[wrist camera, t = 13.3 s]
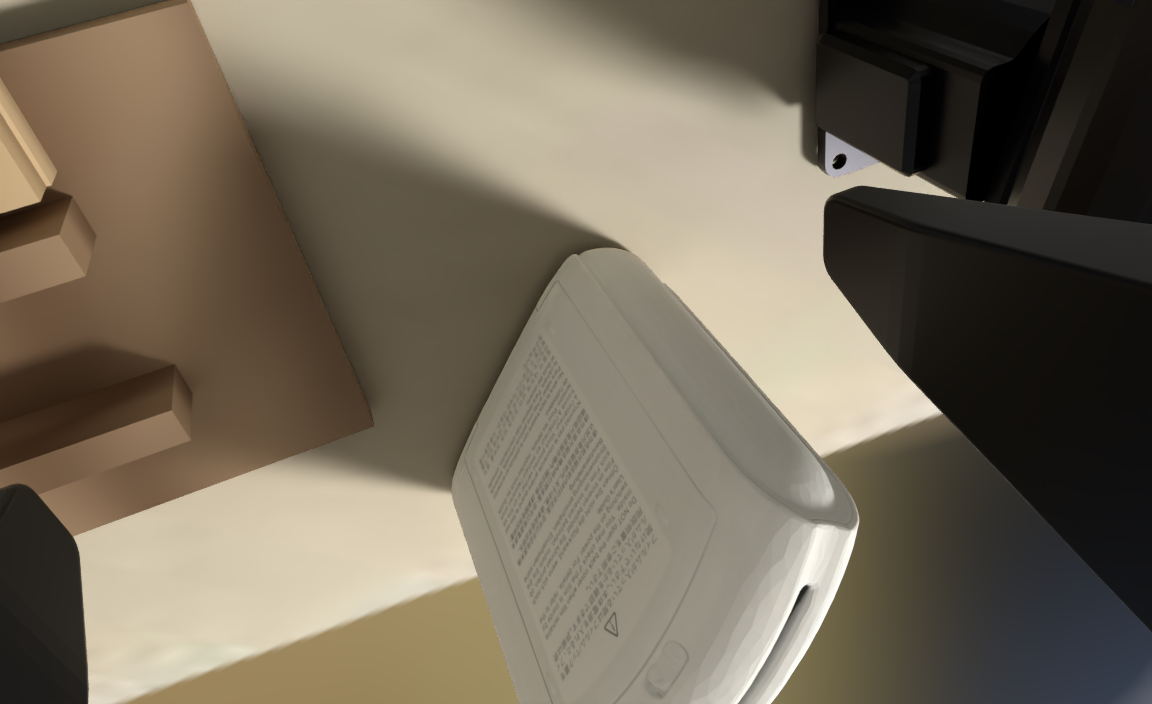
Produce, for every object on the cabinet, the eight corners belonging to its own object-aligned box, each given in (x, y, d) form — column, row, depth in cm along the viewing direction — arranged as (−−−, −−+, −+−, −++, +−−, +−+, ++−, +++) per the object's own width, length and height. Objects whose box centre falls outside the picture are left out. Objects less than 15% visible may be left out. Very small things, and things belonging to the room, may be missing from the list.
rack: (187, -6, 17) (182, 37, 14) (370, 409, 25) (391, 493, 22) (-399, 148, 15) (-544, 233, 13) (-14, 548, 23) (-48, 661, 20)
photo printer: (539, 509, 30) (695, 855, 20) (429, 494, 27) (546, 875, 18) (677, 264, 26) (951, 546, 16) (562, 224, 24) (800, 524, 14)
